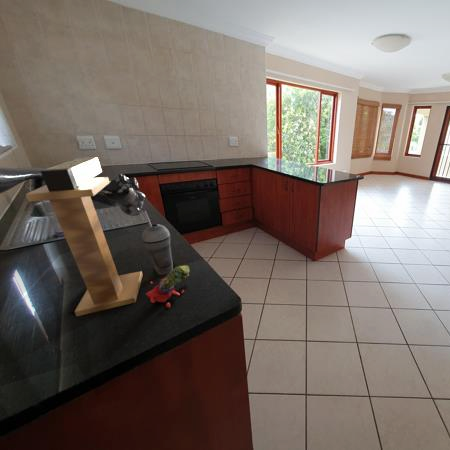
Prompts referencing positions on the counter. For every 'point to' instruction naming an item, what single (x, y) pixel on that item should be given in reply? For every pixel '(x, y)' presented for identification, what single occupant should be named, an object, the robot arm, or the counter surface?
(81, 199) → the wooden pedestal stand
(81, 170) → the black and white box
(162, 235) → the beverage cup
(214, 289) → the counter surface
